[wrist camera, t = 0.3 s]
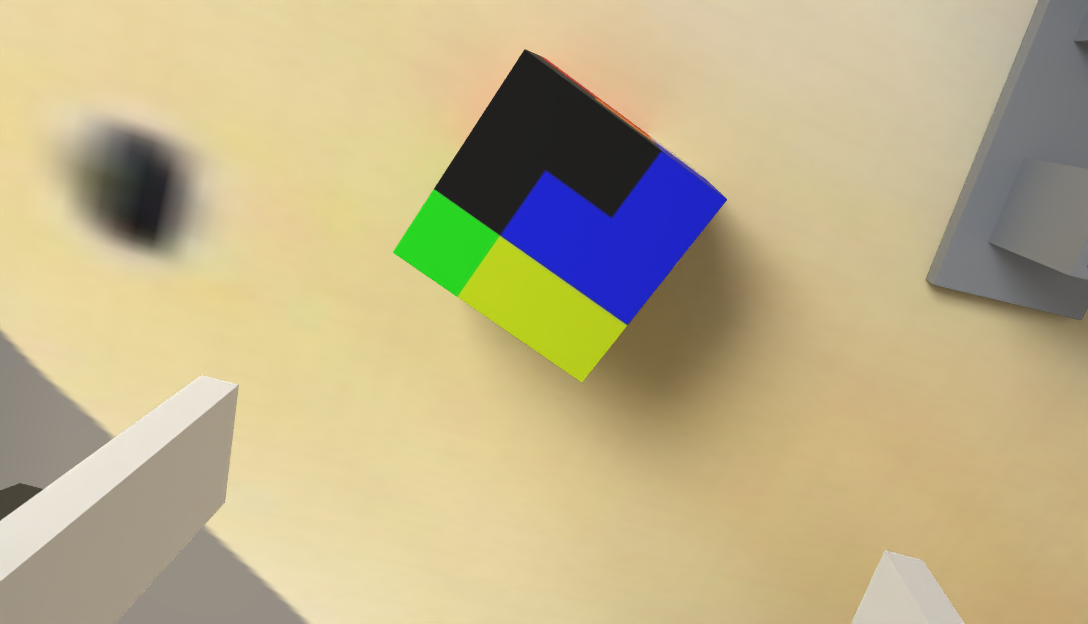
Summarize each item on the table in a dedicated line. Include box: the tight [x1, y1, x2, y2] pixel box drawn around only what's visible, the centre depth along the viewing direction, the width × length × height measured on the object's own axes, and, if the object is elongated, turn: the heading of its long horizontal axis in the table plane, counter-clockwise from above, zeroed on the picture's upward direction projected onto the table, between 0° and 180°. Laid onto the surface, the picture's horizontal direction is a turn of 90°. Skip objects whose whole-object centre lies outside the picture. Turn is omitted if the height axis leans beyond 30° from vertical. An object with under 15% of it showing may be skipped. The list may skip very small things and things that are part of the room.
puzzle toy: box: [393, 49, 727, 382], centre depth 35 cm, size 10×10×10 cm
